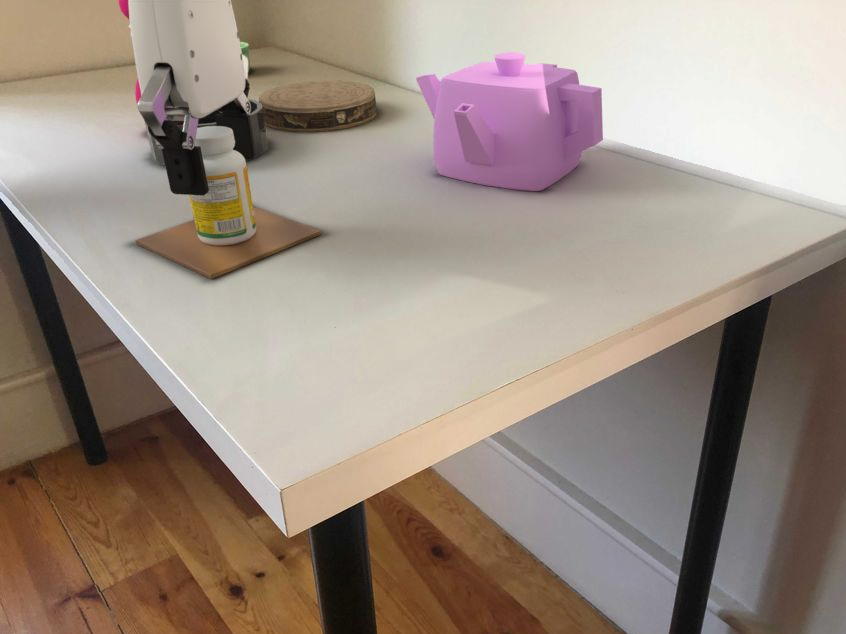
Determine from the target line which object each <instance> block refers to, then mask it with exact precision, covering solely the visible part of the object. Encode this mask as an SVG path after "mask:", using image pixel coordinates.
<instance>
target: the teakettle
mask: <svg viewBox="0 0 846 634" xmlns="http://www.w3.org/2000/svg"><path fill="white" fill-rule="evenodd" d="M525 60H526V55H525V54H523V53H520V52H511V51H510V52H500V53H497V54H495V55H494V61H482V62H479V63H476V64H473V65H469V66H467V67H464V68H462V69H460V70H456V71H454V72H452V73H450V74H447V75H445V76H443V77H442V79H439V78H438V77H437V74H436V73H431V74H423V75H420V76H417V77H416V78H415V79H416V83H417V85H418V87H419V90H420V92H421V93H422V95H423V98H424V101H425V102H426V105H427V107H428V109H429V111H430V114H431V116H432V118H433V134H432V137H433V138H432V144H433V145H432V151H433V152H432V153H433V159H434V163H435V165H436V168H437V171H438V173H439V175H440V176H444V177H446V178H450V179H455V180H459V181H463V182H467V183H472V184H477V185H481V186H482V185H483V186H487V187H495V188H502V189H509V190H517V191H526V192H527V191H528V192H541V191H544V190H545V189H547V188H549V187H550V186H553V185H554V184H556V183H557V182H558V181H560V180H561V179H562V178H564V177H565V176H567V175H568V174H570V173H571V172H572V171H573V170H574V169H576V168H577V167H578V165H579V164H580V161H581V158H582V155H583V152H584V151H586V150H588V149H590V148H593V147H595V146H597V145H598V144H599V143H600V142H603V141H604V131H603V130H604V129H603V128H604V127H603V93H602V91H603V90H602V87H597V86H590V85H583V84H580V79H579V74H578V72H577V71H576V70H575V69H571V68H564V67H558V64H552V63H544V62H540V63H536V64H528V63H525Z"/></svg>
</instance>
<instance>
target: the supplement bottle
mask: <svg viewBox="0 0 846 634" xmlns="http://www.w3.org/2000/svg"><path fill="white" fill-rule="evenodd" d="M194 146H200V147H201V152H202V157H203V162H204V167H205V172H206V177H207V183H208V188H209V192H208V193H207V194H205V195H203V196H202V195H188V196H189V202H190V205H191V211H192V215H193V220H194V221H195V226H196V230H197V234H198V237H199V239H200V240H201V241H202V242H204V243H206V244H209V245H217V246H224V245H232V244H237V243H240V242H243V241H246V240H248V239H250V238H251V237H252V236H253V235H254V234H255V232H256V223H255V217H254V210H253V207H254V206H253V198H252V191H251V187H250V179H249V173H248V167H247V161H245V158H244V157H243V155H242V154H240V153H239V152H237V151H235V150H233V148H234V146H235V140H234V135H233V130H232V129H231V128H228V127H224V126H206V127H200V128H197V133H196V139H195V145H194Z"/></svg>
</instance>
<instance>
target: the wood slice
mask: <svg viewBox="0 0 846 634" xmlns="http://www.w3.org/2000/svg"><path fill="white" fill-rule="evenodd" d="M376 101H377V100H376V90H375V88H374V87H372V86H371V85H369V84H365V83H360V82H357V81H347V80H316V81H315V80H314V81H313V80H312V81H305V82H303V81H302V82H295V83H289V84H285V85H280V86H275V87H273V88H271V89H270V88H269V89H268V90H265V91H264V92H262V93H261V94H259V96H258V102H259V103H261V104H262V108H263V115H264V121H265V127H269V128H272V129H274V130H280V131H287V132H301V133H302V132H303V133H304V132H305V133H312V132H314V133H315V132H327V131H329V132H330V131H334V130H335V131H336V130H342V129H343V130H344V129H349V128H353V127H356V126H359V125H363V124H365V123H367V122H369V121H372V120H373V119H374V118H375V117H376V116H377V115H378V114H377V113H378V112H377V102H376Z"/></svg>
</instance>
